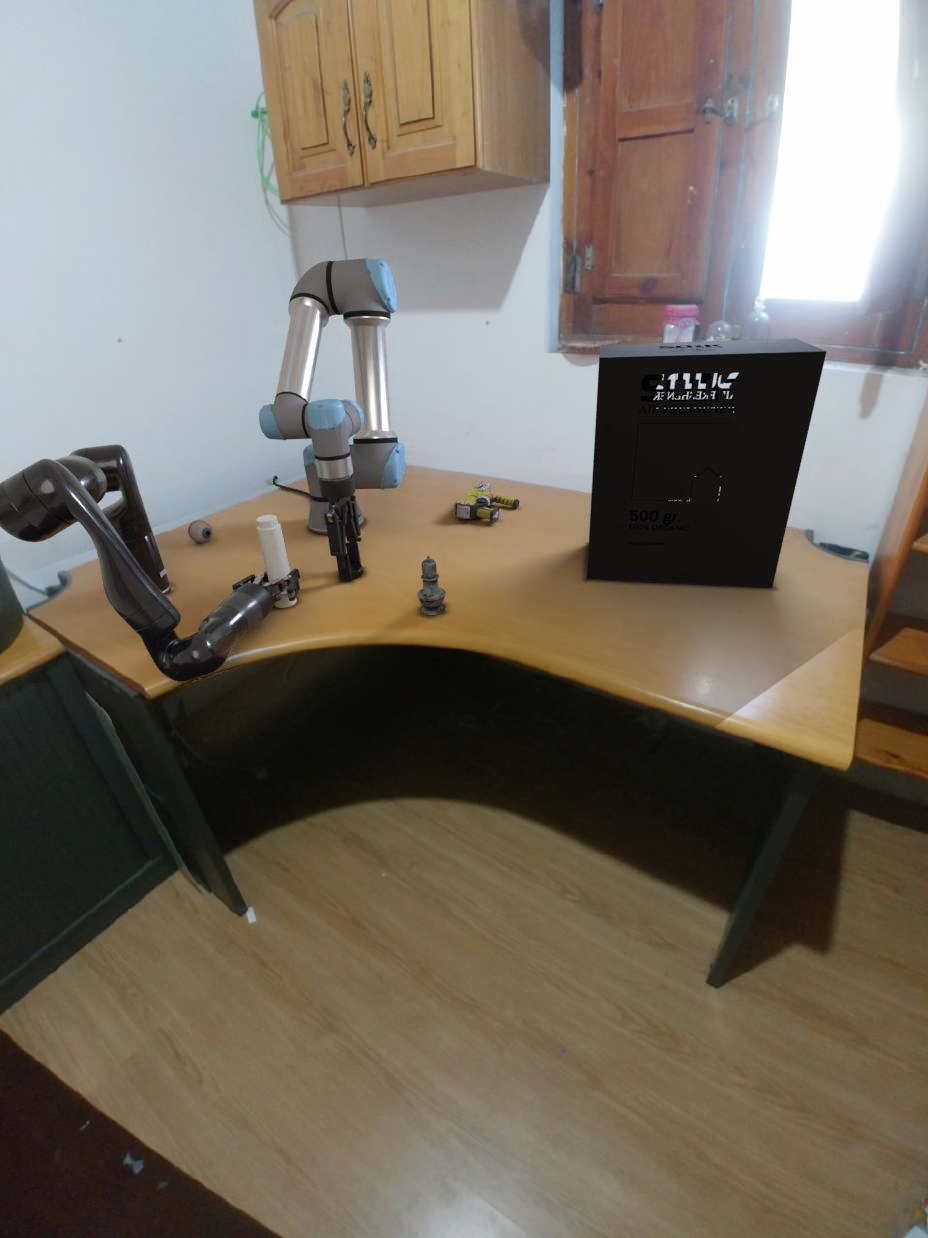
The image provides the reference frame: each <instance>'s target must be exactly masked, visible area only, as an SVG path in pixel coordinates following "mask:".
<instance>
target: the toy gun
mask: <svg viewBox="0 0 928 1238" xmlns="http://www.w3.org/2000/svg"><path fill="white" fill-rule="evenodd" d="M490 489H491V483H490V482H486V483H485V481H481V482H480V483H479V484H478V485H476V486H475V487H473V488H472V489H471V490H469V491H468V492H467V493H465V494H464V496H463V497H461V498H460V499H459V500H457V502H455V503H454V507H453V508H454V509H453V515H454V517H456V518H458V519H459V520H463V521H465V520H474V519H478V518H483V519H487V520H489V521H490V522H489V523H491V524H492V523H494V522H496V521H497V520H499V517H500V507H498V506H497V507H496V506H495V507H494V508H493V506H492V504H494V503H495V504H500V505H504V506H507V507H512V508H515V509H517V508H518V507H520V500H519V499H518V498H512V497H508V496H503V495H502V496H501V495H500V494H497V495H496V496H495V497H494V495H493V494H492V492H491V491H489V490H490Z"/></svg>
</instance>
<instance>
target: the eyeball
mask: <svg viewBox="0 0 928 1238" xmlns="http://www.w3.org/2000/svg"><path fill="white" fill-rule="evenodd" d="M187 534H188V537H189V538H190V539H191V540H192V541H193V542H196V543H198V544H199V543H201V544H202V543H207V542H208V541H209V540H211V538H212V536H213V527H212V526H211V524H210V523H209V522H207V521H205V520H201V519H197V520H193V521H192V522H191V523H190V524H189V525H188V527H187Z"/></svg>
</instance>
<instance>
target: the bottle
mask: <svg viewBox="0 0 928 1238" xmlns="http://www.w3.org/2000/svg"><path fill="white" fill-rule="evenodd" d="M255 522H256V524H257V525H256V528H255V529H256V532H257V537H258V541H259V545H260V549H261V553H262V558H263V563H264V567H265V572H266V571H267V575H268V579H269V582H271V581H273V580H275V579H277V578H281V579H282V578H284V577H286V576H287V575H288V574H289V573H290V572H291V571H292V570H291V567H290V563H289V558H288V554H287V553H288V552H287V548H286V544H285V539H284V534H283V530H282V525H281V522H279V519H278V516H277V515H275V514H263V515H261V516H258V517H257V518H256V519H255ZM286 585H287V582H285V586H286ZM297 602H298V599H297V597H296V598H295V600H294V601H289V598H281V600H279V601H277V602H275V603H274V605H273V606H274V607H276V608H279V609H287V608H290V607H292V606H294V605H296V603H297Z"/></svg>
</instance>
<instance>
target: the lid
mask: <svg viewBox="0 0 928 1238" xmlns="http://www.w3.org/2000/svg"><path fill="white" fill-rule="evenodd" d="M350 568H351V574H352V580H356V579H358V578H361V577H362V576H363V574H364V569H363V565H362V562H361V563H359V562H350ZM337 571H338V570H337ZM338 573H339V571H338Z"/></svg>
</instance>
